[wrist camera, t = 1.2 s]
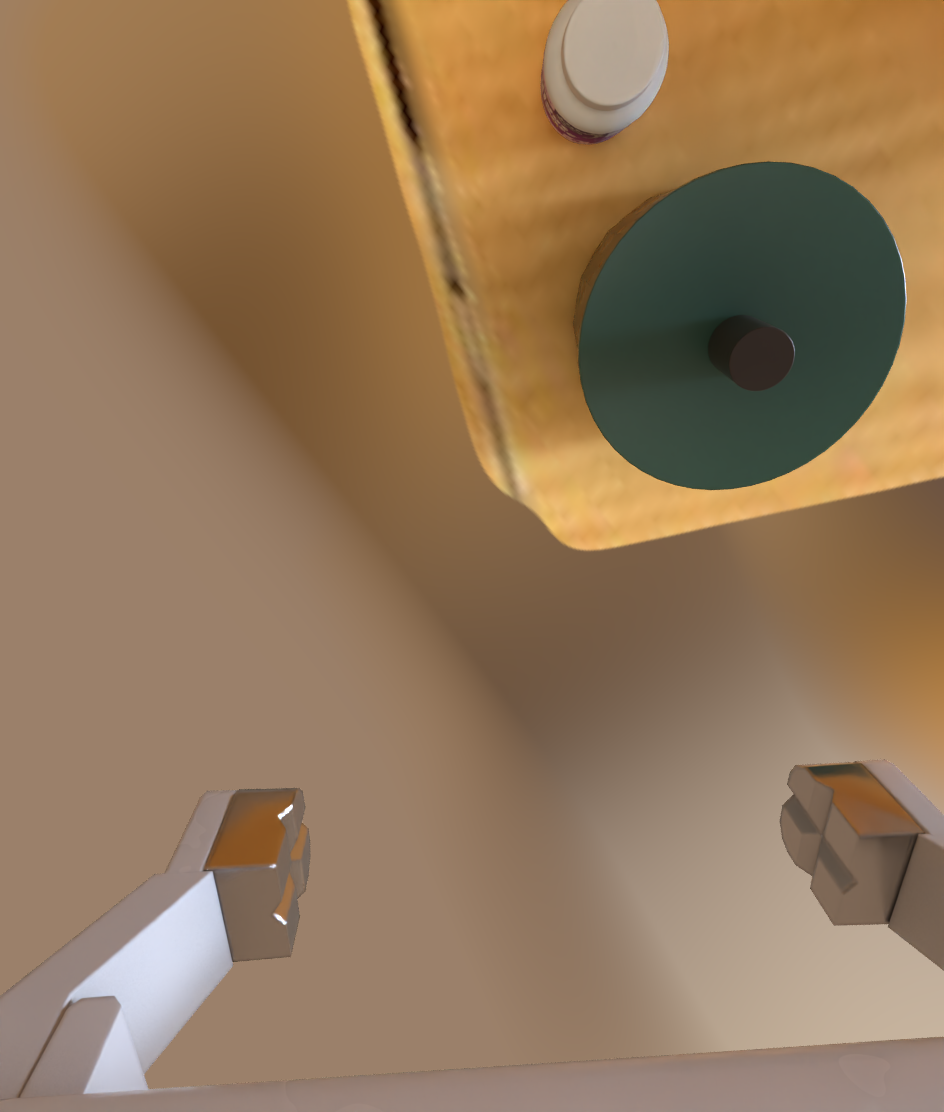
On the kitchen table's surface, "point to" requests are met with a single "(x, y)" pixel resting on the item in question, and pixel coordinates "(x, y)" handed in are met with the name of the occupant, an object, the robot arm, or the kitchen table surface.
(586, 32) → the pill bottle
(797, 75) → the kitchen table surface
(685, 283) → the lid
